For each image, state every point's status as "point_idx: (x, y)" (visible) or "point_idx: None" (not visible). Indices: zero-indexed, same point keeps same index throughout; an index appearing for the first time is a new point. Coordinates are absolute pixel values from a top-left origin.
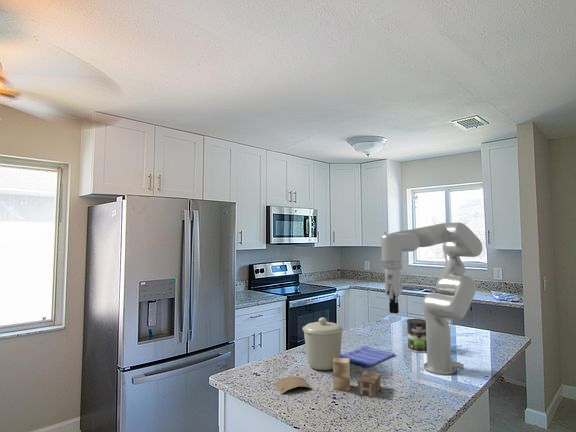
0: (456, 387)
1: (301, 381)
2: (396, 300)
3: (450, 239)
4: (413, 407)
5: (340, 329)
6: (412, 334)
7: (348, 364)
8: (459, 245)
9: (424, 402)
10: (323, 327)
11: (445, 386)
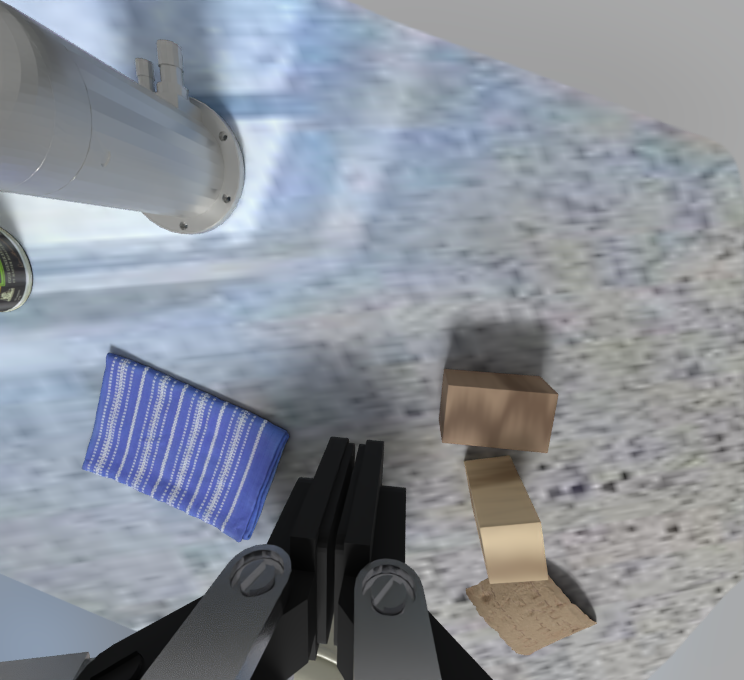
0: (353, 93)
1: (518, 600)
2: (419, 624)
3: None
4: (591, 245)
5: None
6: None
7: (538, 519)
8: None
9: (537, 210)
10: None
11: (359, 138)
